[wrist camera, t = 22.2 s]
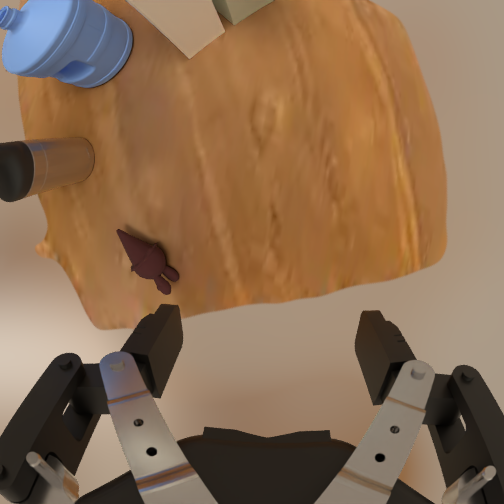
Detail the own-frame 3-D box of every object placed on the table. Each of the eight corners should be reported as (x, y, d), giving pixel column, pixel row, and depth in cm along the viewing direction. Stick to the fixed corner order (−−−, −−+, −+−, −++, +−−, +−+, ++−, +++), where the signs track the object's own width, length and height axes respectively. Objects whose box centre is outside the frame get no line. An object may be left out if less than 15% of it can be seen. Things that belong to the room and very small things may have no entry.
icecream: (98, 250, 47) (156, 306, 51) (115, 228, 43) (178, 291, 48) (118, 231, 52) (170, 283, 57) (136, 209, 49) (192, 267, 53)
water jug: (99, 13, 36) (13, -33, 10) (150, 32, 38) (62, -33, 12) (59, 74, 41) (-40, 59, 14) (104, 100, 43) (-9, 84, 17)
